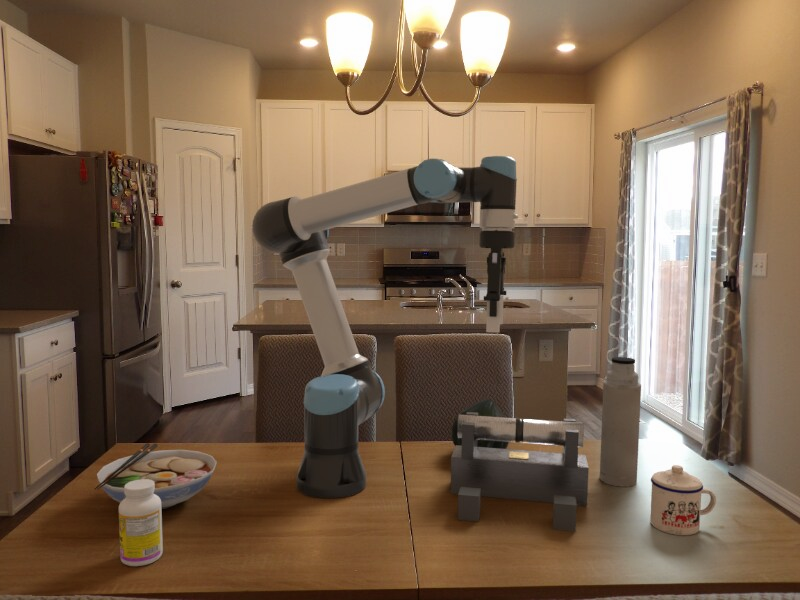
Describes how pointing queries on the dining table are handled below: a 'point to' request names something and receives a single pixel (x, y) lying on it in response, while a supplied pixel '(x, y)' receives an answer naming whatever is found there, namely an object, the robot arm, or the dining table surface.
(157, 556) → the supplement bottle
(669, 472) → the teacup with lid
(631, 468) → the thermos bottle
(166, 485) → the ramen bowl
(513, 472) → the grey cradle stand
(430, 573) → the dining table surface
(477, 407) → the squash
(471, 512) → the posts
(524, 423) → the tube
